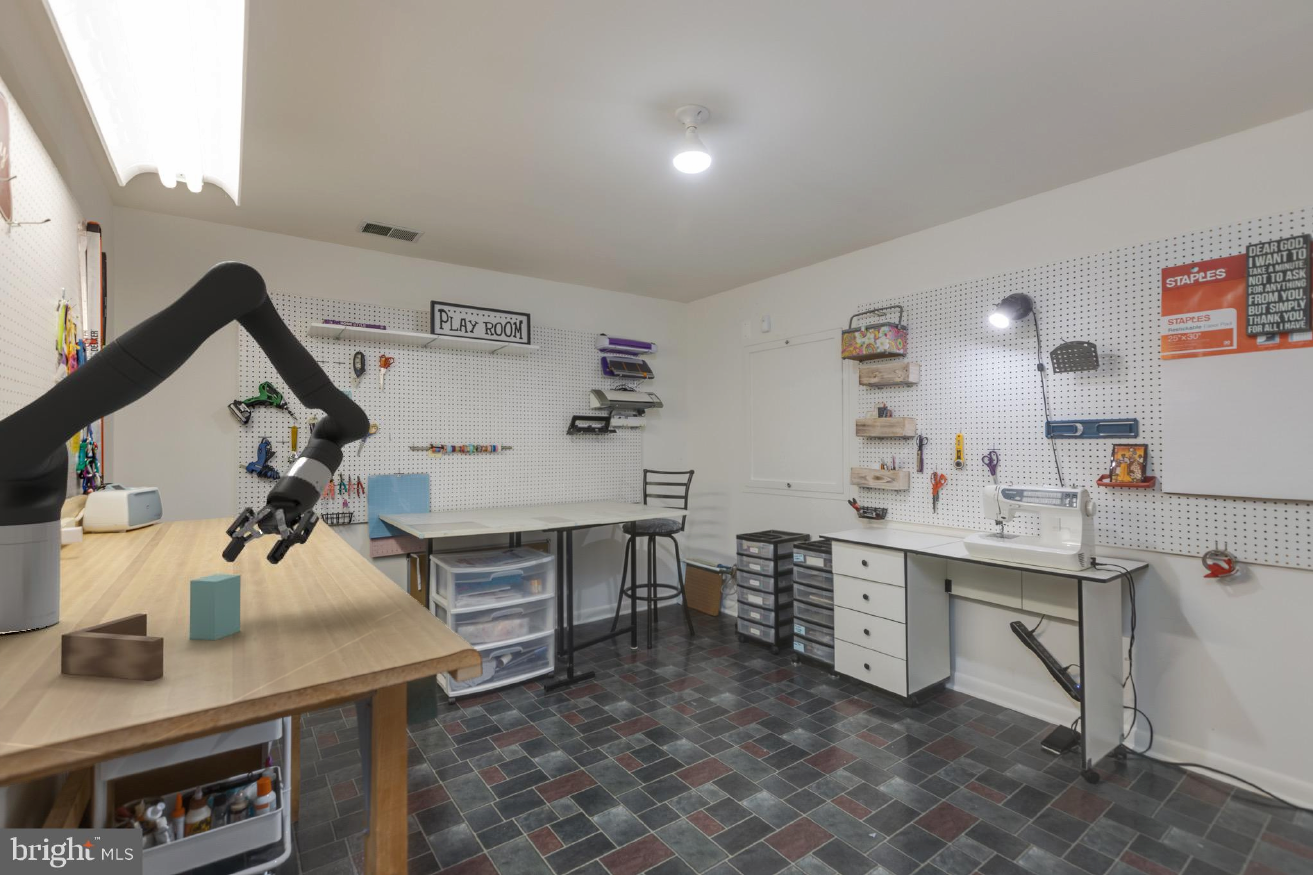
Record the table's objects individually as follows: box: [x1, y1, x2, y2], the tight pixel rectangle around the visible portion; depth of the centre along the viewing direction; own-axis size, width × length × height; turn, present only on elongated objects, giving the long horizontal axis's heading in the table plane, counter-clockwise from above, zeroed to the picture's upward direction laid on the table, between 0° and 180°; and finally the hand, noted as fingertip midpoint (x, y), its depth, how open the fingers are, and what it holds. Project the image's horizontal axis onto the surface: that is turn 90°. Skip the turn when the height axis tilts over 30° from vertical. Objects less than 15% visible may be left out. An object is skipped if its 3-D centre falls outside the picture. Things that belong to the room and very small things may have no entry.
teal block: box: [189, 573, 242, 641], centre depth 93 cm, size 4×4×9 cm
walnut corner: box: [60, 613, 165, 681], centre depth 81 cm, size 14×10×5 cm
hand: (248, 560), depth 99 cm, fingers open, 8 cm apart
